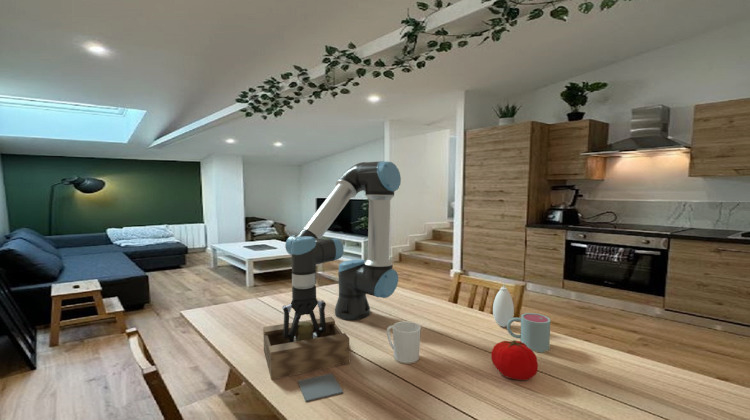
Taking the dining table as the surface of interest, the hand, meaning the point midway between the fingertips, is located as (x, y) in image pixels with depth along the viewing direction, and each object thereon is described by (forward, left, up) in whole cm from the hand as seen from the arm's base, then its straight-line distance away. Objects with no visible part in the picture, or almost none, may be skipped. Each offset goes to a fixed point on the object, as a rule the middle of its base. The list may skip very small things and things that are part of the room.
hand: (305, 355), depth 114 cm
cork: (0, 0, 0) cm, 1 cm away
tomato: (-54, +35, -1) cm, 64 cm away
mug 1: (-29, +13, -1) cm, 32 cm away
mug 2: (-73, +22, -1) cm, 76 cm away
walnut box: (0, 0, 0) cm, 0 cm away
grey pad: (0, +19, 0) cm, 19 cm away
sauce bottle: (-77, +6, -1) cm, 77 cm away
